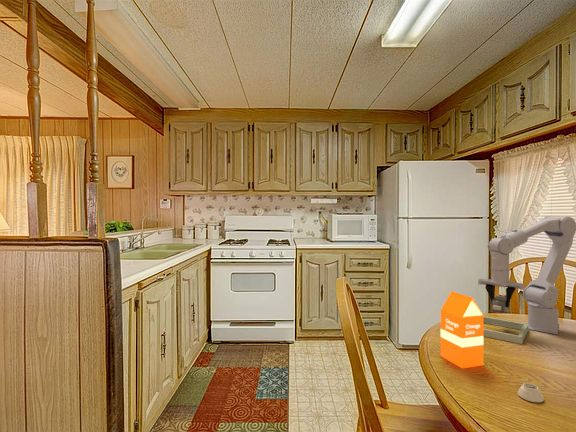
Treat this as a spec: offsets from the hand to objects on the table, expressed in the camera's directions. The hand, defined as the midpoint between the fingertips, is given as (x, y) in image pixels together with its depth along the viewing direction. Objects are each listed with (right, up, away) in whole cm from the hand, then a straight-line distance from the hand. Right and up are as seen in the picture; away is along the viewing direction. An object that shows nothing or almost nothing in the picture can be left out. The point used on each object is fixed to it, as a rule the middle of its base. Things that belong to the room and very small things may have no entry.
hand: (500, 305), depth 126 cm
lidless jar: (-22, -10, -46) cm, 52 cm away
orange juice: (-28, -10, -26) cm, 39 cm away
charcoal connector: (0, -1, 0) cm, 1 cm away
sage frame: (-2, -9, -1) cm, 10 cm away
